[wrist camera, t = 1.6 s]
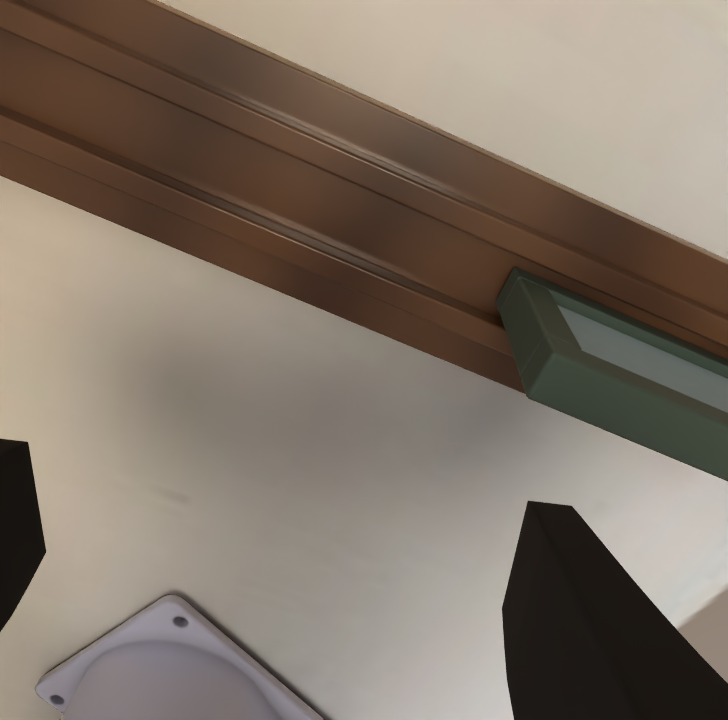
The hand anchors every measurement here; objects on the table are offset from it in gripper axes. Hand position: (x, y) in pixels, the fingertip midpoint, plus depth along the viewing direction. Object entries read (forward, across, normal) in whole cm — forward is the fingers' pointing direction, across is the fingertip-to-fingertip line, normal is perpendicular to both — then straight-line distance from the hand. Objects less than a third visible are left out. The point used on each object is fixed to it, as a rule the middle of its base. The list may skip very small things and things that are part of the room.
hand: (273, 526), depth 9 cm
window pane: (+8, -8, 0) cm, 11 cm away
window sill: (+9, +3, -4) cm, 10 cm away
